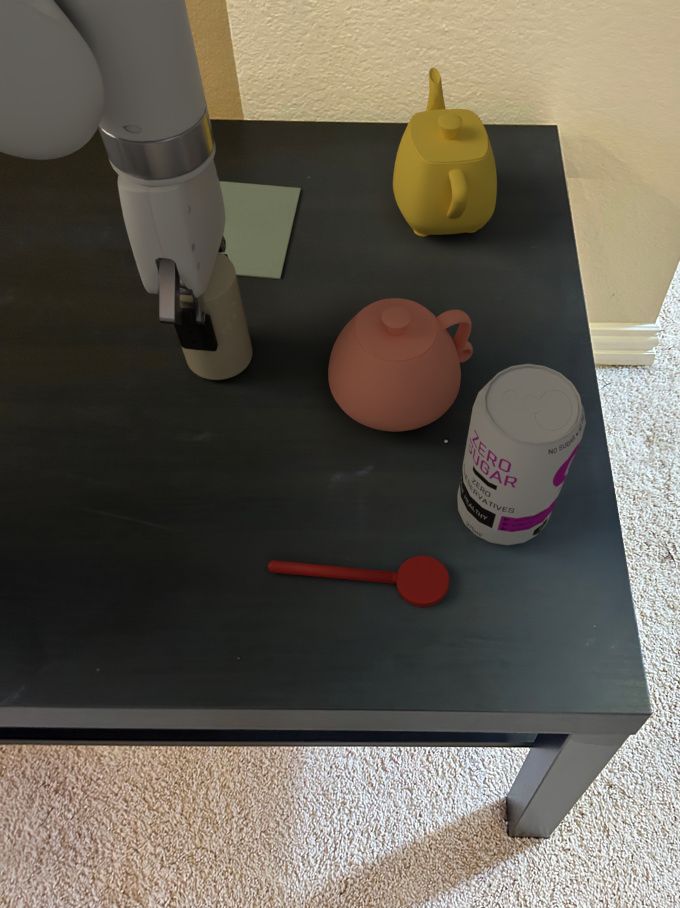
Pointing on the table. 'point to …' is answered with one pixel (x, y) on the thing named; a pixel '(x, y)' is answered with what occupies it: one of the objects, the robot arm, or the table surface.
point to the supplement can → (518, 452)
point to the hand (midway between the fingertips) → (208, 316)
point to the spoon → (385, 577)
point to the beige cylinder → (222, 325)
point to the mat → (258, 227)
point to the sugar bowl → (398, 364)
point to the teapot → (445, 169)
